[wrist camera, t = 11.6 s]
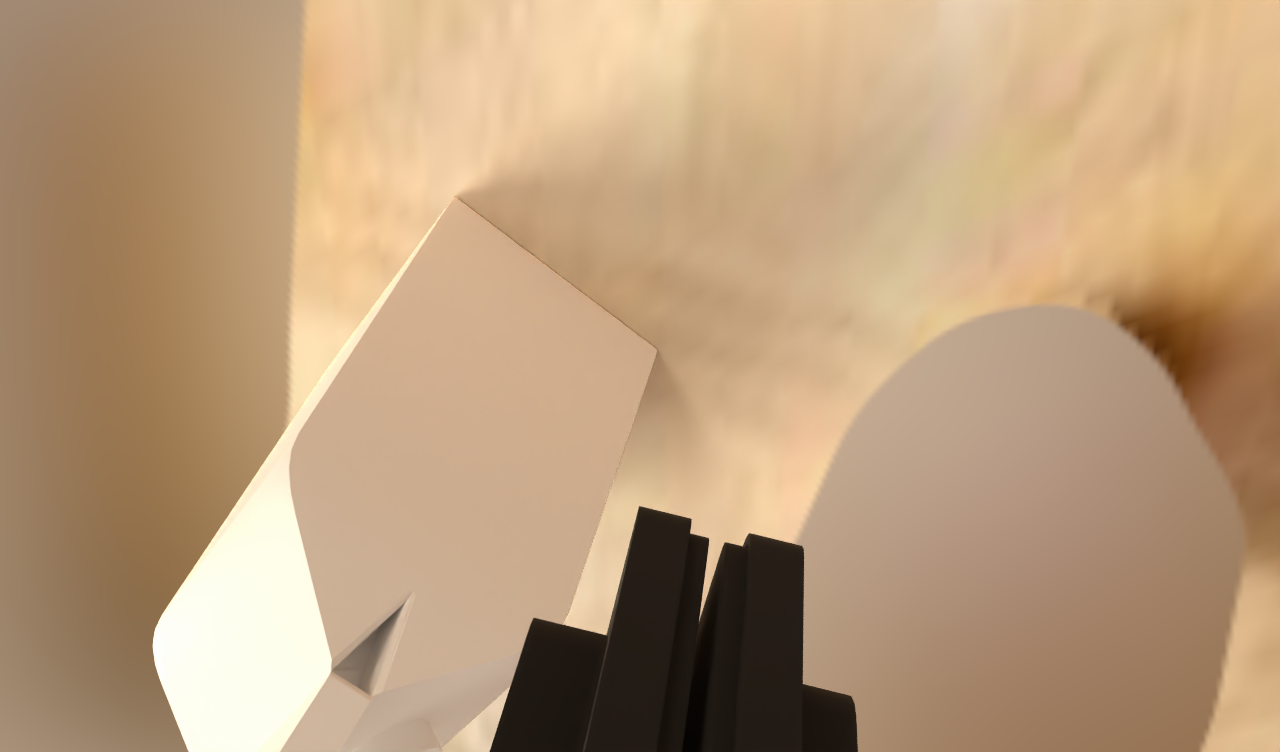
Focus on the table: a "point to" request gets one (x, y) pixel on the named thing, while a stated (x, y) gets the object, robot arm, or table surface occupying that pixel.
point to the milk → (411, 512)
